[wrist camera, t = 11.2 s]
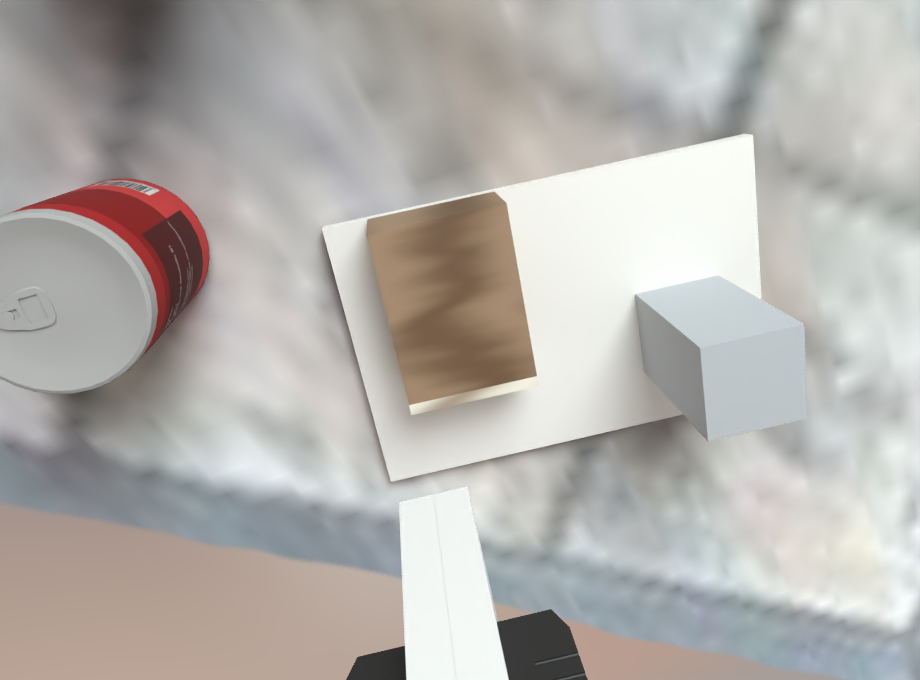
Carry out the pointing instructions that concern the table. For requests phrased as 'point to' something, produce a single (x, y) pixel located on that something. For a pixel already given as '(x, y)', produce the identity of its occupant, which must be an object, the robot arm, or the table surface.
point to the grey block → (723, 356)
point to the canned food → (93, 282)
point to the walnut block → (453, 301)
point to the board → (567, 300)
